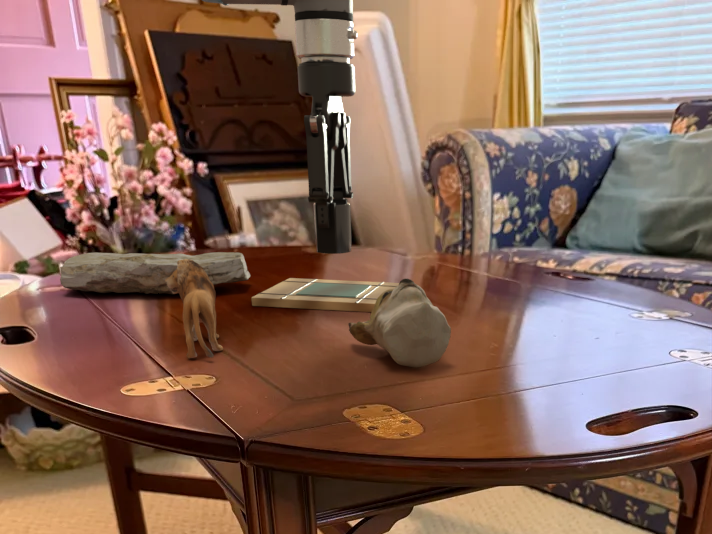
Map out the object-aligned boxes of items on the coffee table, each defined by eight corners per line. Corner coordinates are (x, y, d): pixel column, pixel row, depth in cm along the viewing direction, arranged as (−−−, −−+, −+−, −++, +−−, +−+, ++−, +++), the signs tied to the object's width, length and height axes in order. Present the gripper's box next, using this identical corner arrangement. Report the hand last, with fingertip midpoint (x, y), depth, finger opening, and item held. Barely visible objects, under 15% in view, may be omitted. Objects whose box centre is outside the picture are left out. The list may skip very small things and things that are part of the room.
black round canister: (311, 253, 109) (308, 204, 106) (322, 248, 114) (320, 201, 111) (346, 254, 108) (344, 205, 105) (355, 249, 113) (354, 202, 110)
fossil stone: (256, 282, 126) (253, 247, 123) (238, 300, 113) (235, 262, 110) (87, 280, 126) (80, 246, 123) (50, 298, 113) (42, 260, 110)
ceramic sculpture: (375, 288, 74) (341, 272, 87) (376, 376, 78) (344, 348, 91) (476, 284, 77) (429, 269, 90) (473, 369, 81) (428, 343, 94)
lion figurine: (171, 334, 94) (160, 257, 90) (214, 330, 96) (206, 255, 92) (189, 364, 83) (177, 278, 78) (238, 359, 84) (229, 275, 80)
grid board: (251, 305, 109) (251, 296, 109) (289, 285, 123) (289, 277, 122) (387, 313, 106) (387, 303, 105) (410, 291, 119) (411, 282, 119)
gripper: (333, 56, 91) (340, 260, 102) (371, 65, 107) (374, 241, 118) (274, 56, 93) (287, 258, 104) (320, 66, 108) (327, 240, 119)
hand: (333, 249), depth 111 cm, fingers closed on black round canister, 5 cm apart
